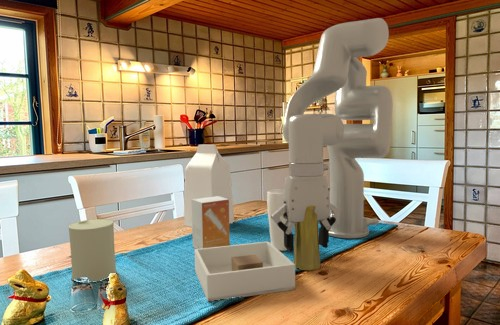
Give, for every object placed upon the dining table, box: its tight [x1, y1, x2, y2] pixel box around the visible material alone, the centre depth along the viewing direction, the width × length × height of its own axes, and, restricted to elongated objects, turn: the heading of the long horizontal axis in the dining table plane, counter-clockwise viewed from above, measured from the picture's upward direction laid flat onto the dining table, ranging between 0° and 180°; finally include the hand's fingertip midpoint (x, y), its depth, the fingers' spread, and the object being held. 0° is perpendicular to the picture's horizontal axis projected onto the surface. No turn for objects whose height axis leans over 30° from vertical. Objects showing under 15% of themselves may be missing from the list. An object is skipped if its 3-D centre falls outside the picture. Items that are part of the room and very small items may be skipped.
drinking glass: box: [266, 188, 288, 252], centre depth 103 cm, size 7×7×15 cm
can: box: [68, 218, 117, 282], centre depth 87 cm, size 9×9×12 cm
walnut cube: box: [231, 255, 263, 271], centre depth 79 cm, size 5×5×5 cm
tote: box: [194, 241, 296, 303], centre depth 83 cm, size 17×16×5 cm
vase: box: [293, 206, 321, 271], centre depth 90 cm, size 6×6×14 cm
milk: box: [183, 144, 235, 228], centre depth 129 cm, size 12×12×26 cm
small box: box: [191, 196, 231, 249], centre depth 105 cm, size 8×6×13 cm
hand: (306, 247), depth 90 cm, fingers open, 7 cm apart
